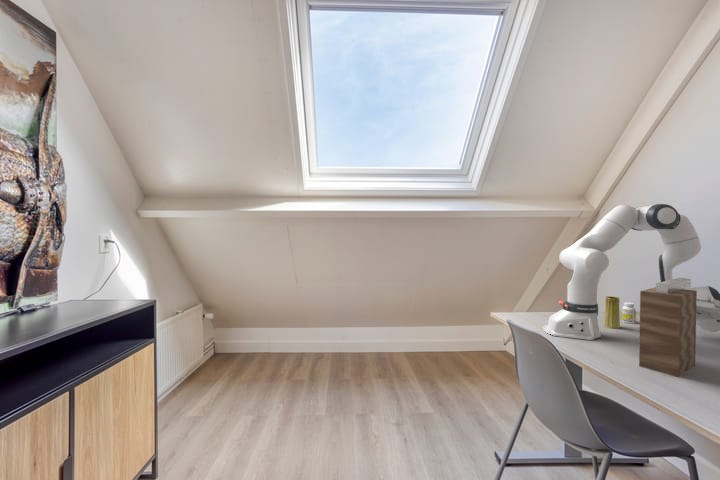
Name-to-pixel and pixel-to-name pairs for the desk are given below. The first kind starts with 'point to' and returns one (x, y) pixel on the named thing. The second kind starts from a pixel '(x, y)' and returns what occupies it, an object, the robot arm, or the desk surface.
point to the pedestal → (668, 331)
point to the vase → (612, 313)
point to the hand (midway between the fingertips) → (692, 297)
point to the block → (673, 285)
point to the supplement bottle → (628, 313)
